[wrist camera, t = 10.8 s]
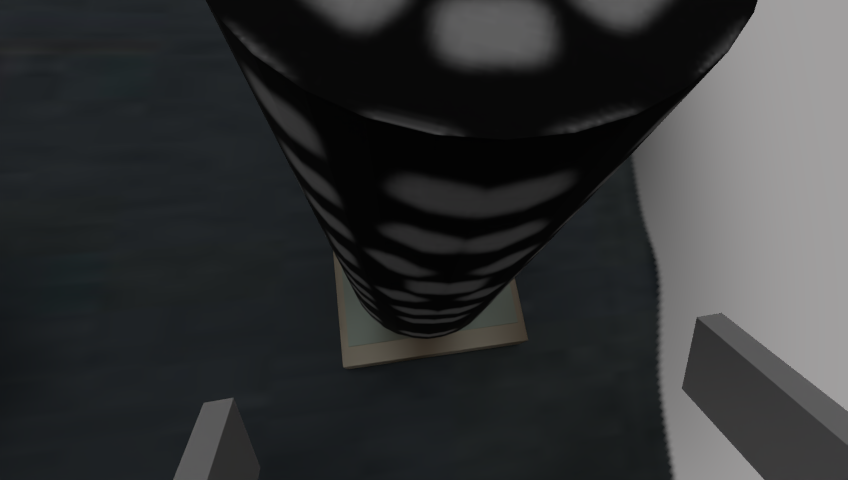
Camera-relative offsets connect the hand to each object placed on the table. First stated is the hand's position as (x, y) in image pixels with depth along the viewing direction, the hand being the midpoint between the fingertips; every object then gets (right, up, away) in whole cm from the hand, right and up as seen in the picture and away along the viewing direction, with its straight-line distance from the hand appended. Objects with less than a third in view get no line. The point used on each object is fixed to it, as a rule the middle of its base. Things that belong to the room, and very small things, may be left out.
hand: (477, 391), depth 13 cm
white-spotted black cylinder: (-2, +3, +13) cm, 13 cm away
